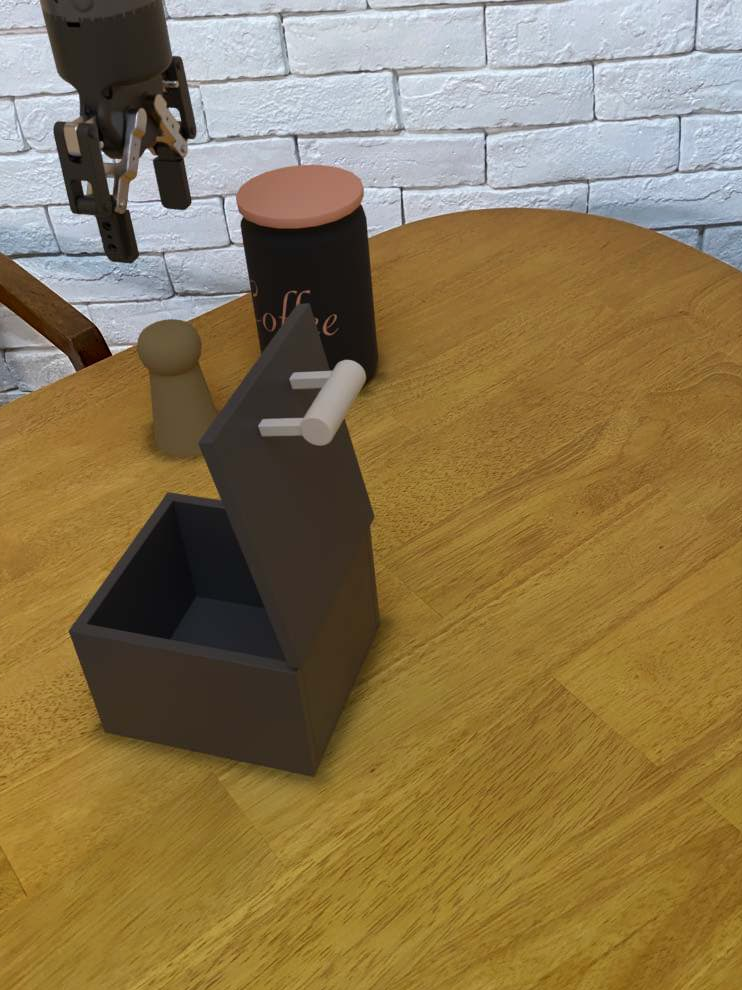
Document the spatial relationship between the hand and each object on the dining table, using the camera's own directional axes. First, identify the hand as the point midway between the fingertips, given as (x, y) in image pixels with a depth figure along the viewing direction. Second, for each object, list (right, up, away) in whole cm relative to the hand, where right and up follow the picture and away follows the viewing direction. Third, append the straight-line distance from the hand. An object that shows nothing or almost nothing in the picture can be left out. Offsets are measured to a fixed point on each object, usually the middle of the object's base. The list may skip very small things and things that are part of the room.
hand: (151, 233), depth 82 cm
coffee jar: (+11, -7, +23) cm, 27 cm away
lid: (+12, -19, -18) cm, 29 cm away
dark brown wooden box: (+8, -32, -5) cm, 33 cm away
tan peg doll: (0, -13, +17) cm, 22 cm away
